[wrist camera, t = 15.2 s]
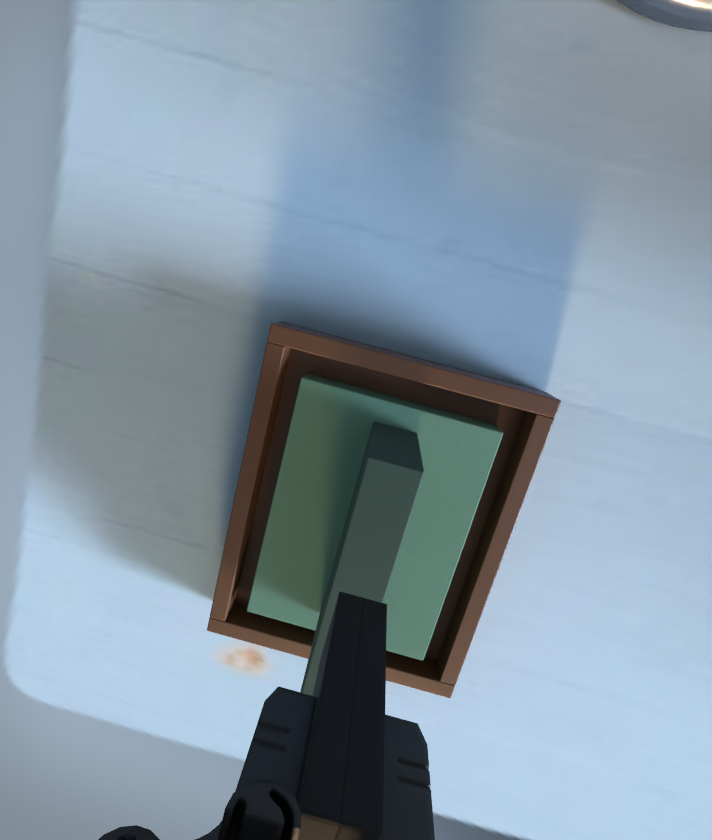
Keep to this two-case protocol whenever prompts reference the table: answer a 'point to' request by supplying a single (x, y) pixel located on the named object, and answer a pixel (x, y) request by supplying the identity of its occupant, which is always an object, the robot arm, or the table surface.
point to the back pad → (329, 493)
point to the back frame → (414, 381)
